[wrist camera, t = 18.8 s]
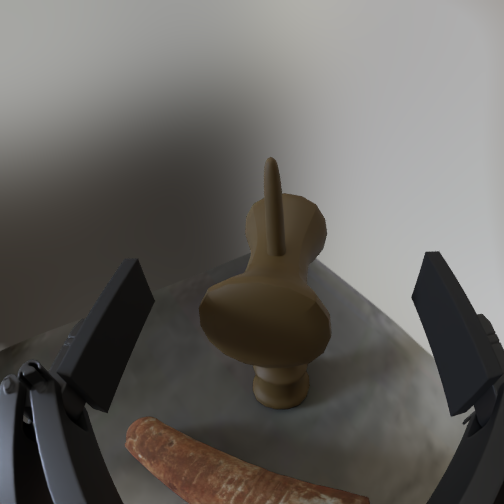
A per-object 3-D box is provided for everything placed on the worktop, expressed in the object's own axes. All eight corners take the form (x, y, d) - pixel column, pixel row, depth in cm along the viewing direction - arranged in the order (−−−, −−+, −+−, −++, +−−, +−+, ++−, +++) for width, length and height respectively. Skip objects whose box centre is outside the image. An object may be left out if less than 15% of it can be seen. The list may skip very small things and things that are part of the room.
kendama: (236, 429, 20) (157, 205, 9) (259, 343, 28) (233, 137, 17) (308, 438, 19) (350, 206, 8) (317, 348, 27) (332, 136, 15)
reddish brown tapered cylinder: (326, 565, 9) (339, 579, 6) (126, 453, 18) (93, 431, 15) (366, 502, 13) (390, 495, 10) (168, 407, 22) (145, 378, 19)
